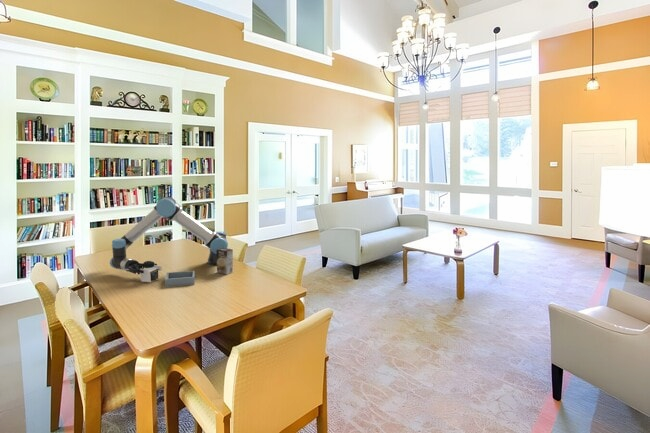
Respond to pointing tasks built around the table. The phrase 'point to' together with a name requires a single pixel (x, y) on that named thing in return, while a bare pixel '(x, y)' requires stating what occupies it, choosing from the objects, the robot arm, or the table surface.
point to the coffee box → (224, 261)
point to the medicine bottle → (152, 272)
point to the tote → (180, 278)
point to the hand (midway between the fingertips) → (154, 270)
